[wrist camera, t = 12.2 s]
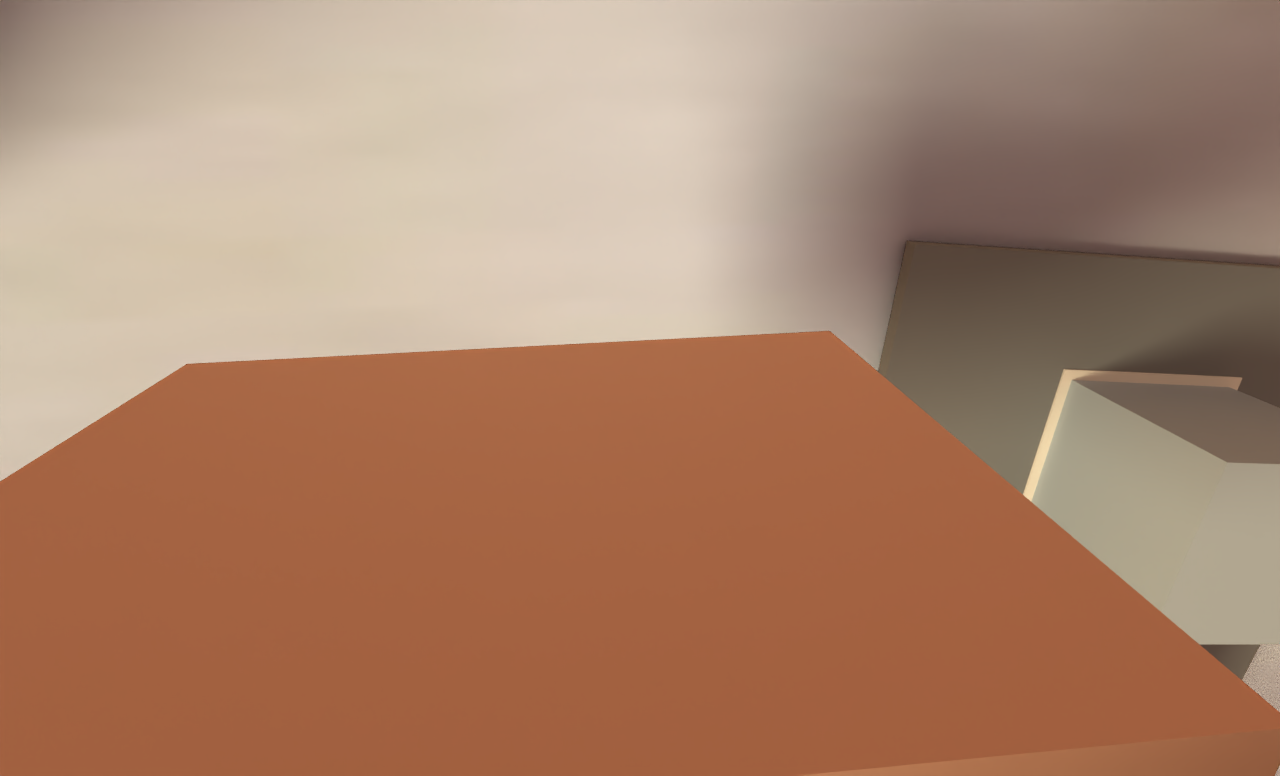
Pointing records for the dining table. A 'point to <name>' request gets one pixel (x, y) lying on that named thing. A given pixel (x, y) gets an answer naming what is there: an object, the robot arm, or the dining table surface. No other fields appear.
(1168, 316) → the mat
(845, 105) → the dining table surface
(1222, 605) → the pier
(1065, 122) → the dining table surface
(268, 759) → the terracotta colored cube
